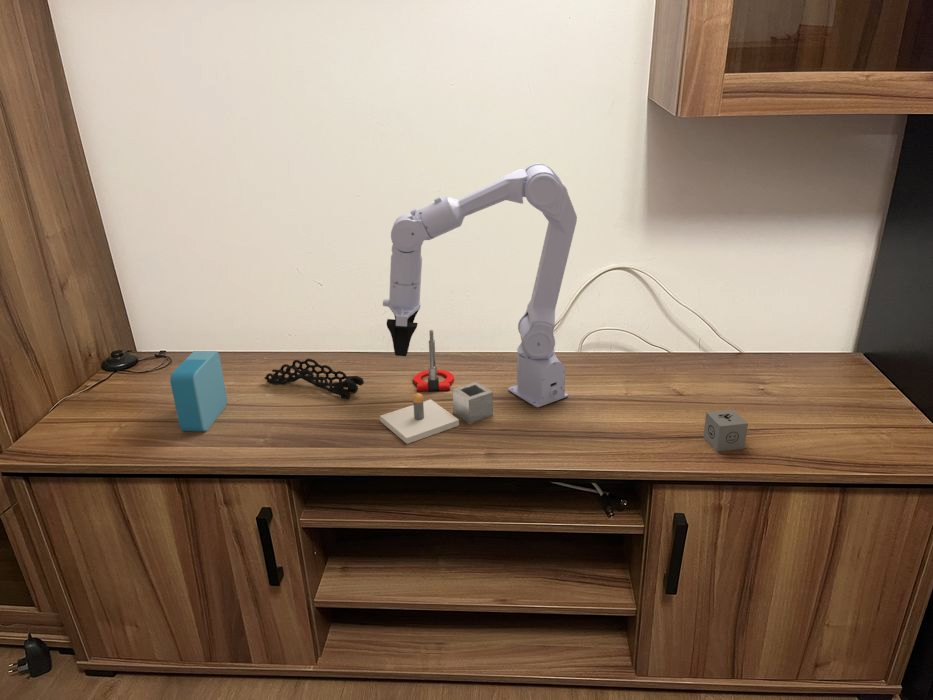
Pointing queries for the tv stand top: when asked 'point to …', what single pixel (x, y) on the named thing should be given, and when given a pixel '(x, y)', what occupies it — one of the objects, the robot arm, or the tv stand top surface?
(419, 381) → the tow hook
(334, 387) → the decorative element
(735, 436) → the dice cube
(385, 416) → the plate
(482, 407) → the hollow square tube
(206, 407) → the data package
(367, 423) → the tv stand top surface
